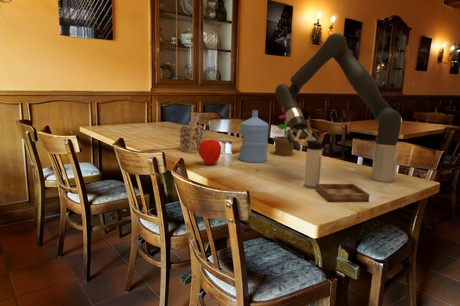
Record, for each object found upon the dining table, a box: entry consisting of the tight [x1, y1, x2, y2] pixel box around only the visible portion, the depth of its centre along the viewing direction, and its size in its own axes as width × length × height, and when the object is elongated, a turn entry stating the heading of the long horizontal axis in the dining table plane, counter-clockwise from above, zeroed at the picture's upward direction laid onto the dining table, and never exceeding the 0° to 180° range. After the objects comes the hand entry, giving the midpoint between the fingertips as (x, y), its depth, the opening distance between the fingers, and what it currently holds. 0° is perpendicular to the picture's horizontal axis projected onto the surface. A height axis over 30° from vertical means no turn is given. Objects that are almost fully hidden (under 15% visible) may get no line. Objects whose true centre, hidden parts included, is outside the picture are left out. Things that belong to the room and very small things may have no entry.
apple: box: [198, 139, 222, 166], centre depth 188 cm, size 12×12×13 cm
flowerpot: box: [272, 106, 295, 157], centre depth 217 cm, size 14×14×30 cm
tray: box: [315, 183, 370, 203], centre depth 142 cm, size 16×14×3 cm
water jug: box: [238, 109, 269, 164], centre depth 199 cm, size 16×16×28 cm
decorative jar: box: [179, 121, 207, 154], centre depth 220 cm, size 12×12×18 cm
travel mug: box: [303, 140, 323, 189], centre depth 152 cm, size 6×7×20 cm
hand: (307, 149), depth 156 cm, fingers open, 8 cm apart
